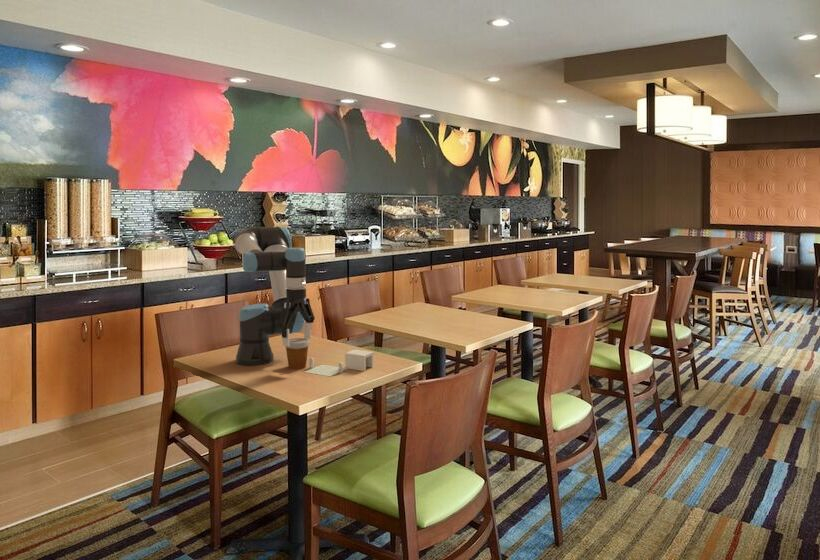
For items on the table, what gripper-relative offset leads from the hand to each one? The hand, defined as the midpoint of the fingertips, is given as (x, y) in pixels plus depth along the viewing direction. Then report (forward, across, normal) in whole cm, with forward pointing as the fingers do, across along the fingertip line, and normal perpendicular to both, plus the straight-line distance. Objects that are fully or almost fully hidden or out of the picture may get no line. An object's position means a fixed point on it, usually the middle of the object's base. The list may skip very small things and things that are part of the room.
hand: (297, 342), depth 245 cm
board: (+11, +5, -15) cm, 20 cm away
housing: (+10, +11, -22) cm, 26 cm away
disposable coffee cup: (+12, 0, 0) cm, 12 cm away
